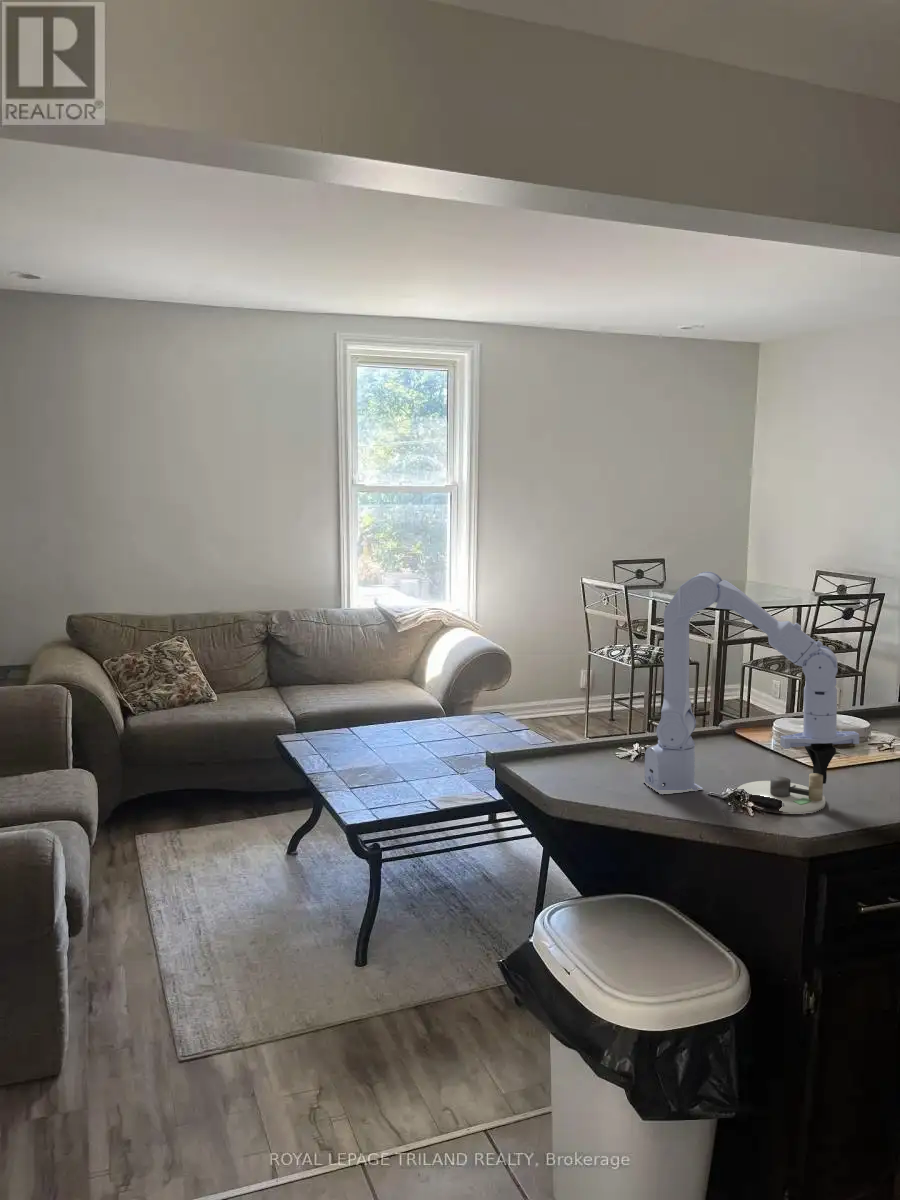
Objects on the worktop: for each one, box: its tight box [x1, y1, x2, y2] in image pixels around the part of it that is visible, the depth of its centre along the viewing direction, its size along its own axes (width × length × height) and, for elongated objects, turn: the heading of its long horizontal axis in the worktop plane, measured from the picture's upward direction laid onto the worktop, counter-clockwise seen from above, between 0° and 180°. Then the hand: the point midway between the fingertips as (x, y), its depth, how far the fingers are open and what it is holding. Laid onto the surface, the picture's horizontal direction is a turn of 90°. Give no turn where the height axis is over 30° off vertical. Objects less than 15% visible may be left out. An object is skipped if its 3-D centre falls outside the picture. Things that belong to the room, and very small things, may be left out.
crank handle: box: [769, 772, 824, 801], centre depth 163 cm, size 10×4×5 cm, turn 51°
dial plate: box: [736, 780, 826, 813], centre depth 166 cm, size 16×16×1 cm
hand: (819, 782), depth 163 cm, fingers closed, pressing on crank handle
